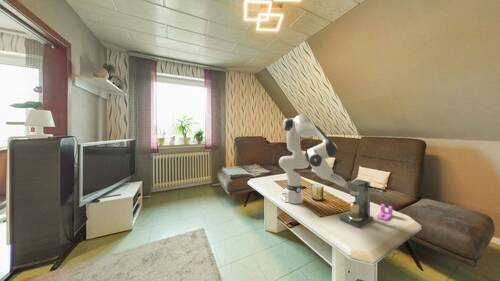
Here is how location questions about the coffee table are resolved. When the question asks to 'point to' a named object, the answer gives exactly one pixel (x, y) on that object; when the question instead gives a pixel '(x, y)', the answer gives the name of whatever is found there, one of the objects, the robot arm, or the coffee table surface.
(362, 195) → the press
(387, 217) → the bracket
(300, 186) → the robot arm
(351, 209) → the bottle
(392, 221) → the coffee table surface
